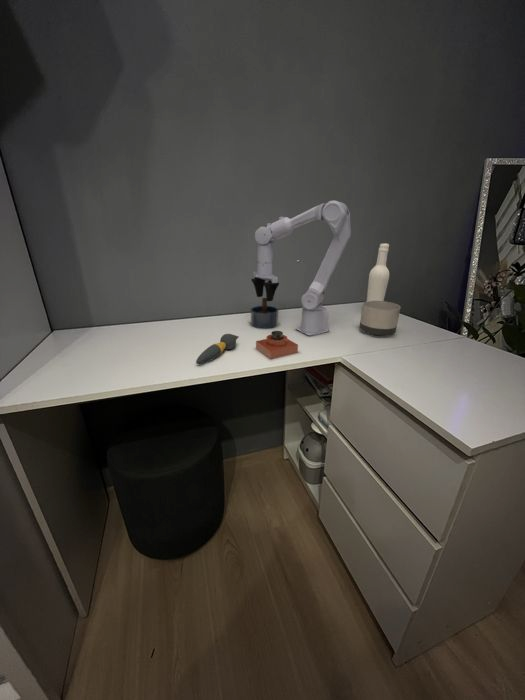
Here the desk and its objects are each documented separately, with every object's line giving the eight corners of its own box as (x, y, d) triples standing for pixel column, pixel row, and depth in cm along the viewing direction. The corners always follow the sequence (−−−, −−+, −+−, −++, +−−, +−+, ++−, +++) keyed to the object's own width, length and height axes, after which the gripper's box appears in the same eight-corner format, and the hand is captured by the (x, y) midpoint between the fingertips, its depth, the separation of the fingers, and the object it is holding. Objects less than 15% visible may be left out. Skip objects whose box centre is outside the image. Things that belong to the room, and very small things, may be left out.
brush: (266, 319, 122) (267, 296, 118) (274, 323, 118) (274, 299, 114) (254, 321, 120) (254, 297, 116) (261, 325, 115) (262, 300, 111)
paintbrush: (208, 369, 83) (206, 353, 81) (193, 366, 85) (191, 349, 83) (242, 345, 99) (241, 330, 97) (229, 342, 101) (228, 328, 99)
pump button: (278, 335, 96) (278, 329, 95) (284, 339, 93) (285, 333, 92) (268, 337, 94) (269, 331, 93) (275, 341, 91) (275, 335, 90)
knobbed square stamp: (281, 343, 101) (282, 330, 99) (297, 352, 94) (298, 339, 92) (255, 348, 96) (255, 335, 94) (270, 359, 89) (270, 345, 87)
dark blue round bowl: (268, 318, 126) (269, 304, 123) (283, 325, 117) (283, 311, 115) (246, 322, 121) (245, 308, 118) (259, 330, 112) (259, 315, 110)
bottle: (359, 313, 134) (370, 242, 121) (377, 313, 134) (389, 242, 122) (367, 319, 126) (379, 244, 114) (385, 318, 127) (399, 244, 115)
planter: (372, 324, 120) (376, 299, 115) (402, 333, 110) (408, 306, 106) (351, 330, 113) (355, 303, 109) (381, 341, 103) (386, 312, 99)
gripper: (246, 260, 113) (246, 295, 119) (265, 265, 102) (265, 304, 107) (262, 259, 117) (262, 294, 122) (283, 264, 105) (281, 302, 111)
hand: (264, 298), depth 115 cm, fingers open, 7 cm apart
